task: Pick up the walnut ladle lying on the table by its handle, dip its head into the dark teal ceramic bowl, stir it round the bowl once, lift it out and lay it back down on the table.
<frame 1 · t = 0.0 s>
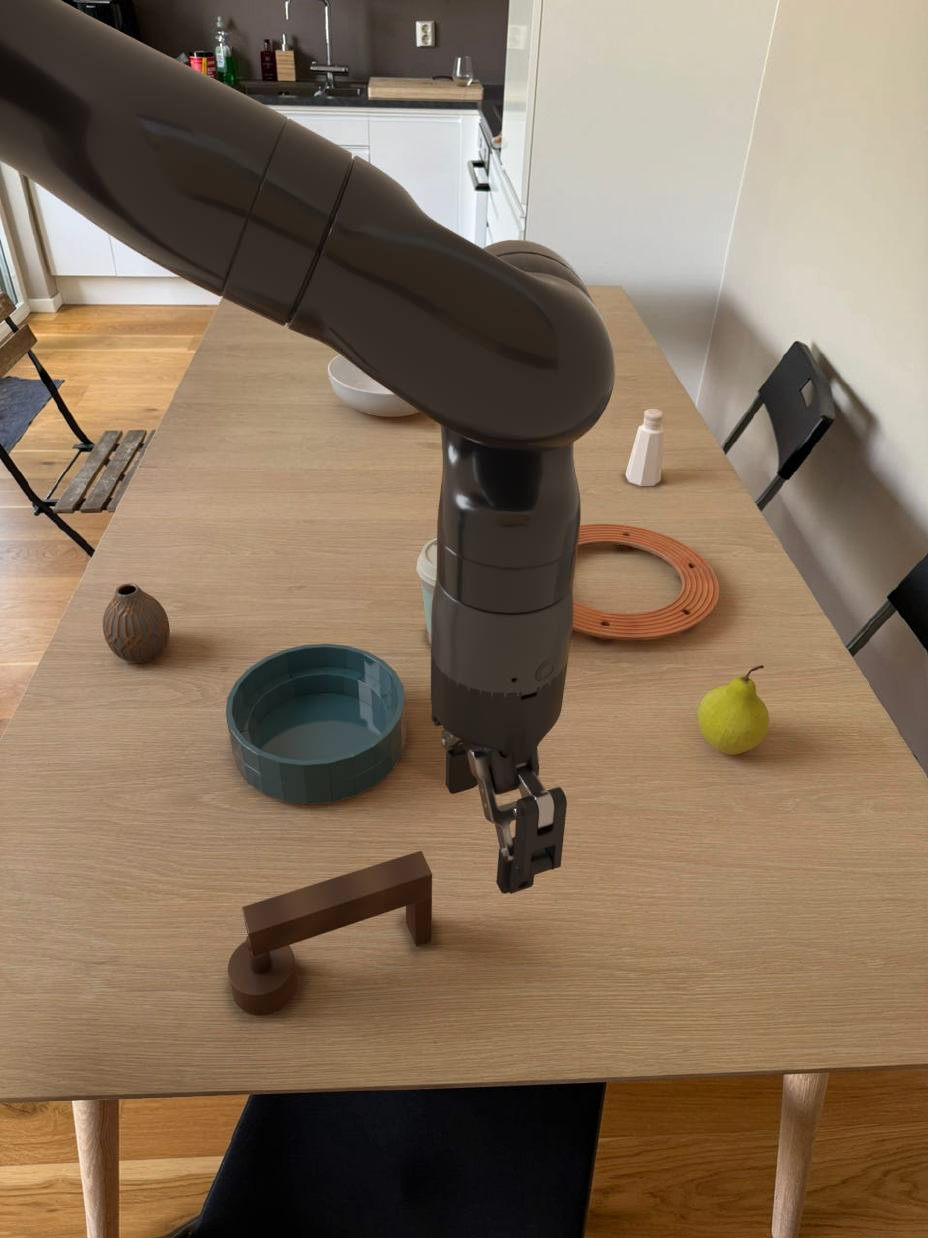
hand: (486, 834, 58), 19 cm above the table, tool pointing down, fingers open, 8 cm apart
vase: (143, 653, 101), on the table
mixing bowl: (320, 742, 91), on the table
ring: (614, 590, 114), on the table
serving bowl: (390, 405, 156), on the table
ladle: (363, 951, 72), on the table
coffee cup: (453, 639, 105), on the table
fruit: (725, 744, 92), on the table
pepper shaker: (642, 479, 137), on the table
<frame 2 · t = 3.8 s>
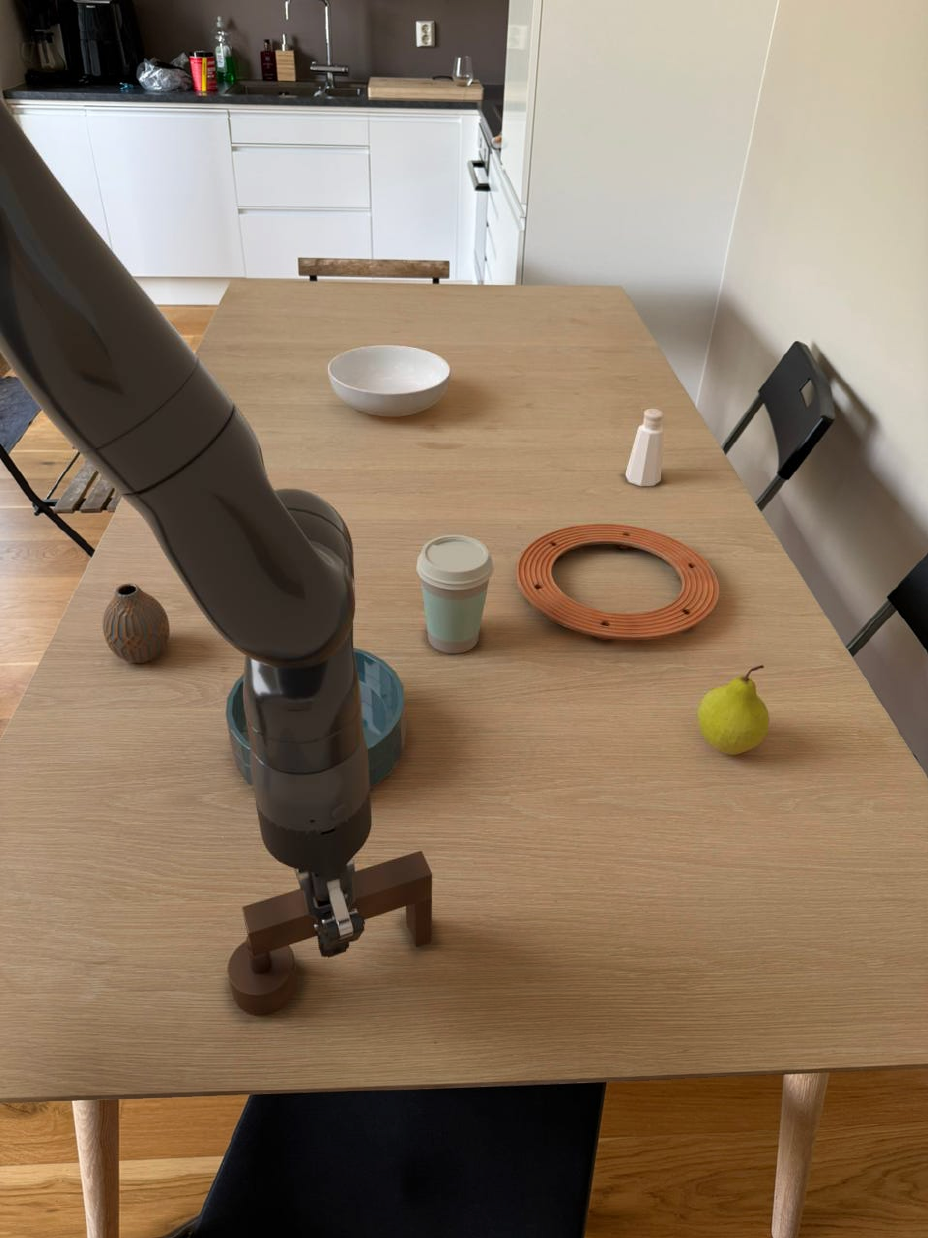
hand: (329, 933, 69), 4 cm above the table, tool pointing down, fingers closed on ladle, 2 cm apart
ladle: (363, 951, 72), on the table, touching gripper
everything else where it was.
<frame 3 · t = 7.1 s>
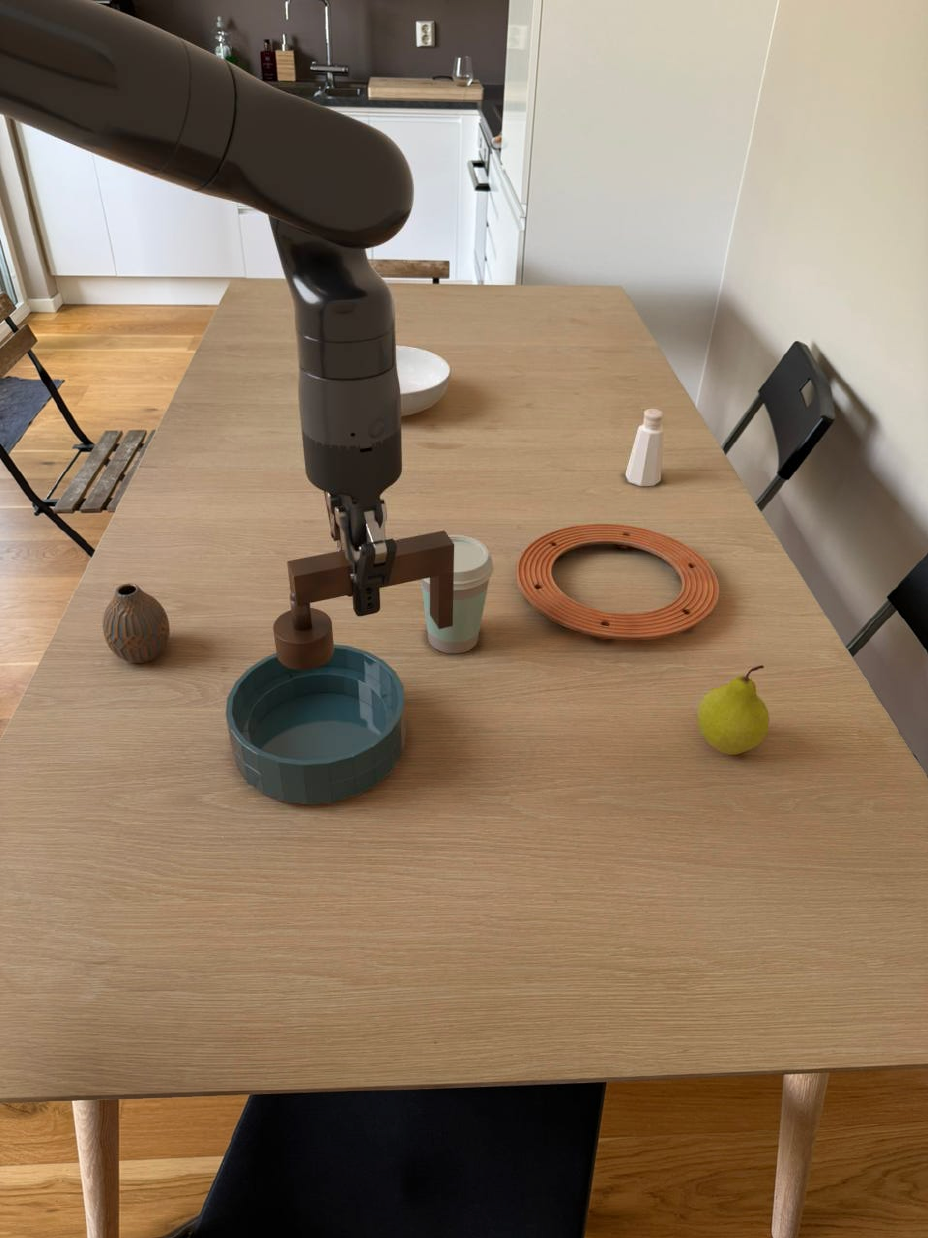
hand: (361, 602, 78), 19 cm above the table, tool pointing down, fingers closed on ladle, 2 cm apart
ladle: (391, 631, 81), point 15 cm above the table, touching gripper
everything else where it was.
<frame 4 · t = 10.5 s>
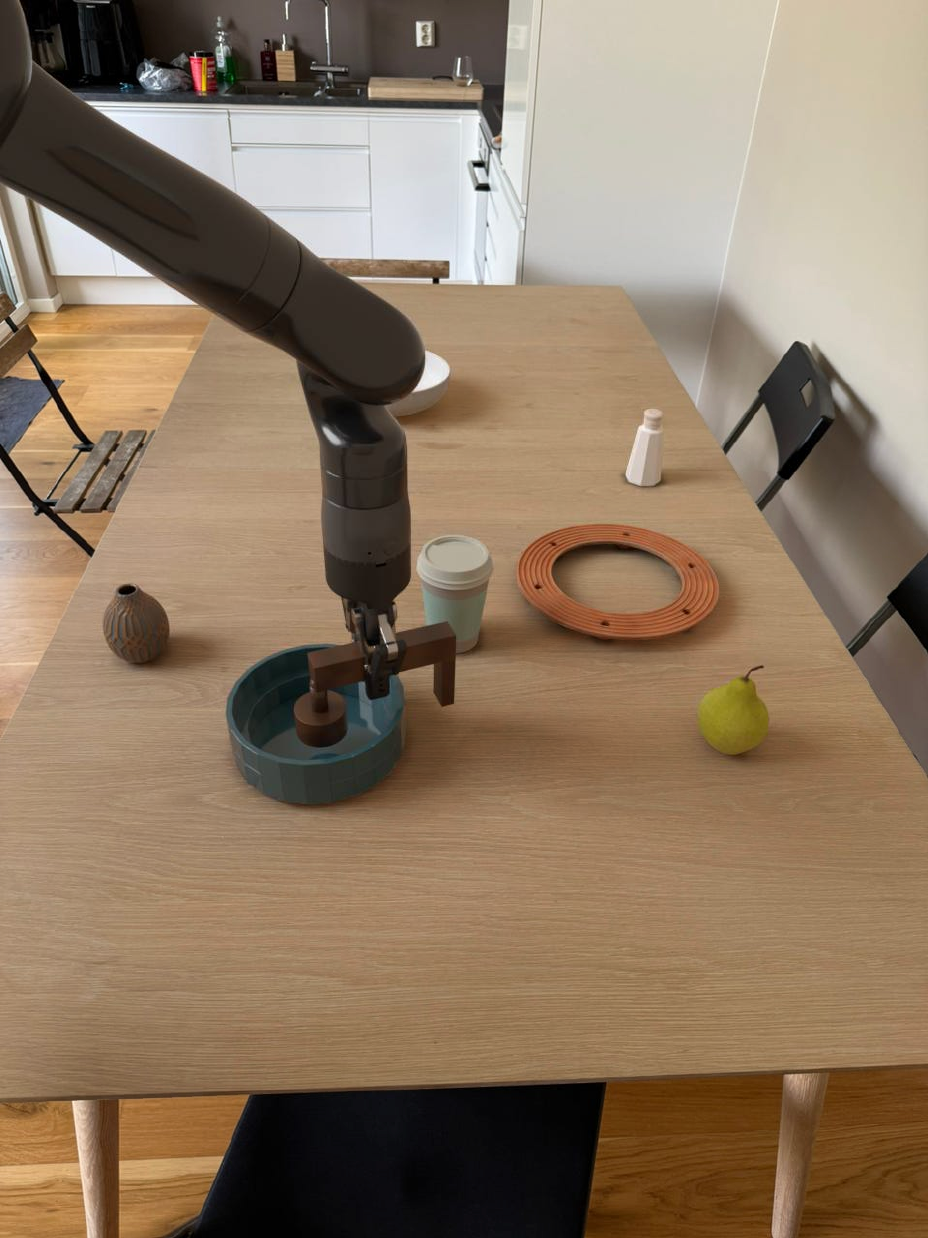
hand: (373, 685, 86), 8 cm above the table, tool pointing down, fingers closed on ladle, 2 cm apart
ladle: (399, 709, 90), point 4 cm above the table, touching gripper
everything else where it was.
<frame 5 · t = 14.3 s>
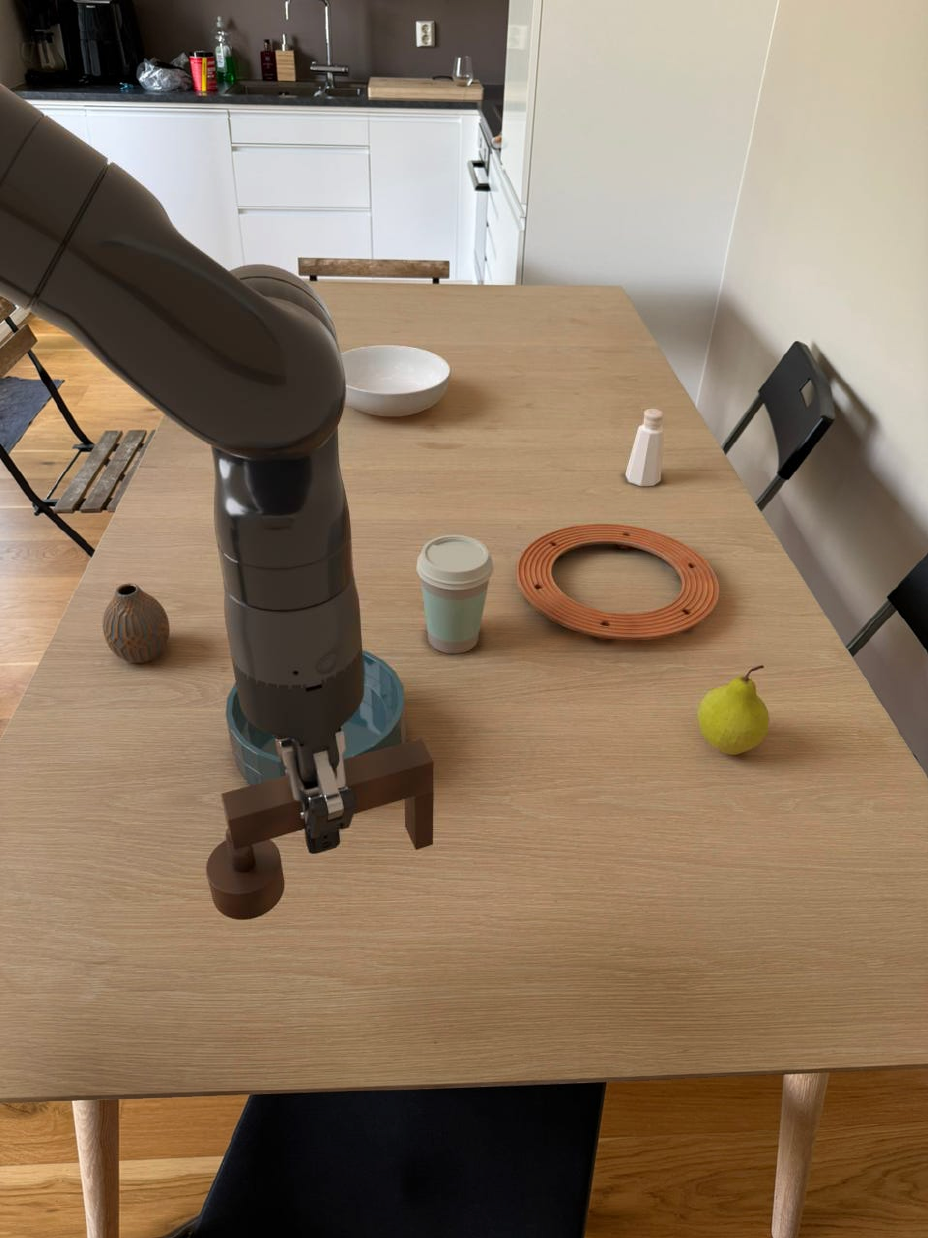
hand: (317, 830, 62), 16 cm above the table, tool pointing down, fingers closed on ladle, 2 cm apart
ladle: (357, 854, 65), point 12 cm above the table, touching gripper
everything else where it was.
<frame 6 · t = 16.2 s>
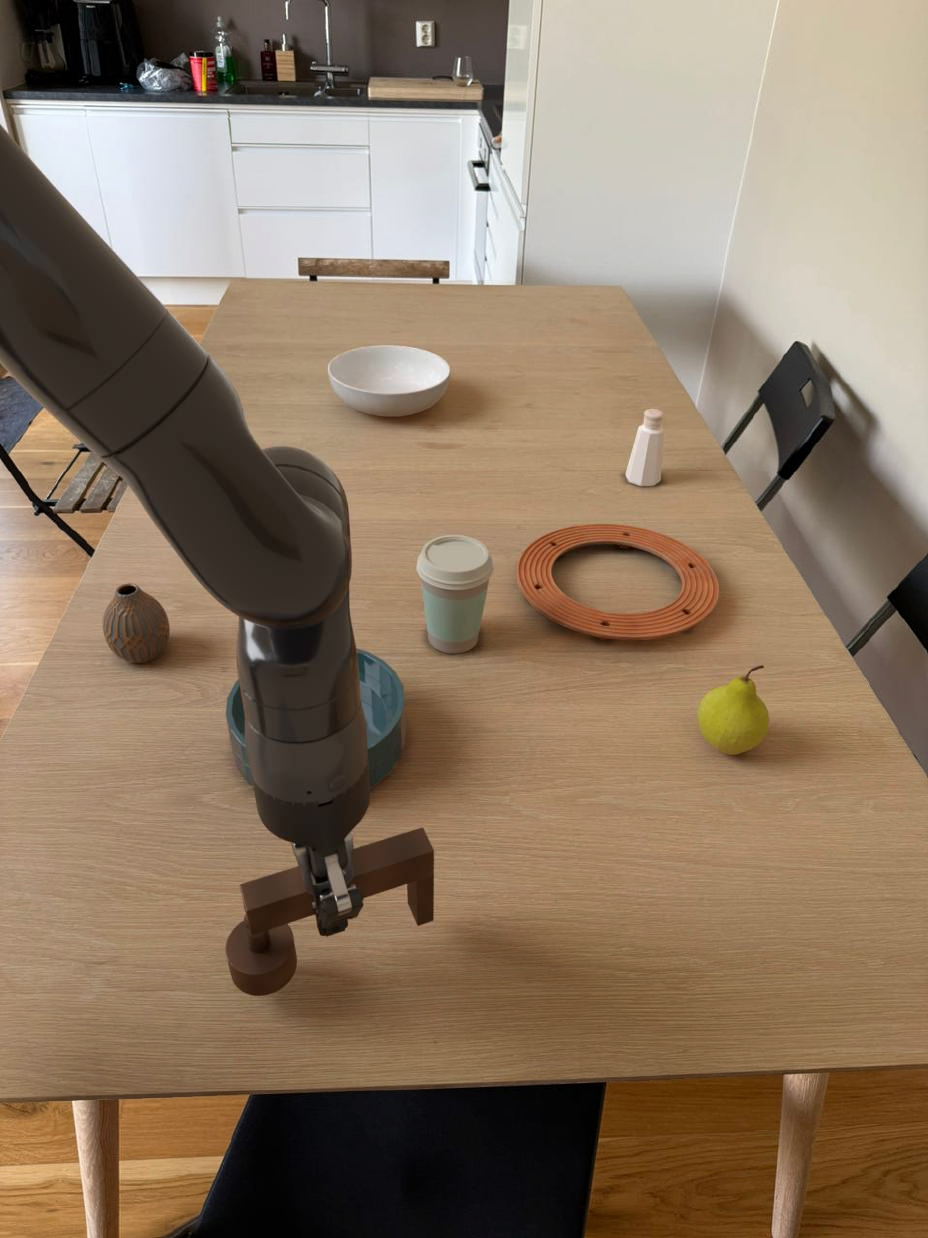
hand: (327, 912, 67), 7 cm above the table, tool pointing down, fingers closed on ladle, 2 cm apart
ladle: (363, 931, 71), point 3 cm above the table, touching gripper
everything else where it was.
when the fingers open (4 cm above the table, at t = 17.2 s): ladle stays where it is, on the table.
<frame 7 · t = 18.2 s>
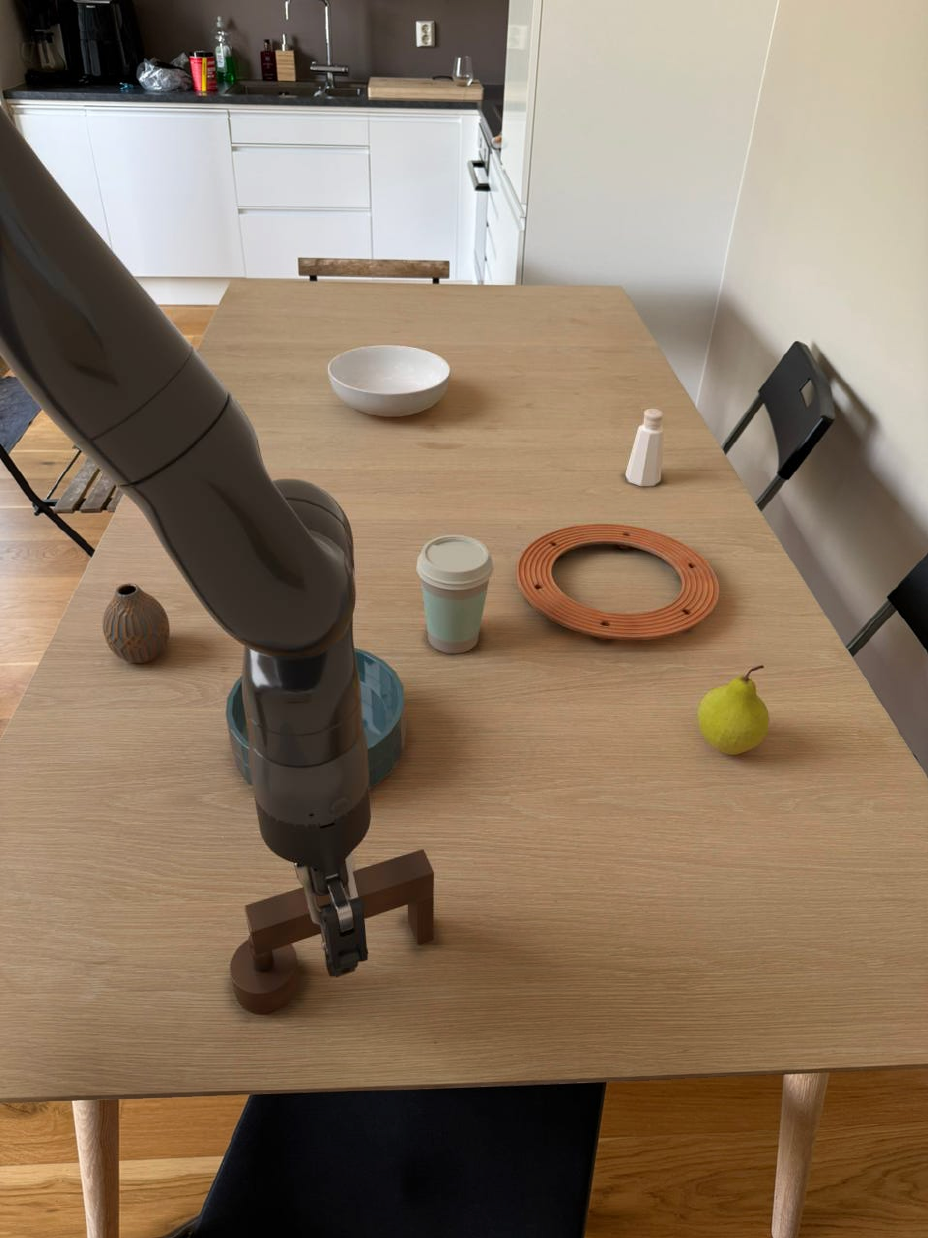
hand: (326, 921, 68), 6 cm above the table, tool pointing down, fingers open, 8 cm apart
ladle: (365, 949, 72), on the table
everything else where it was.
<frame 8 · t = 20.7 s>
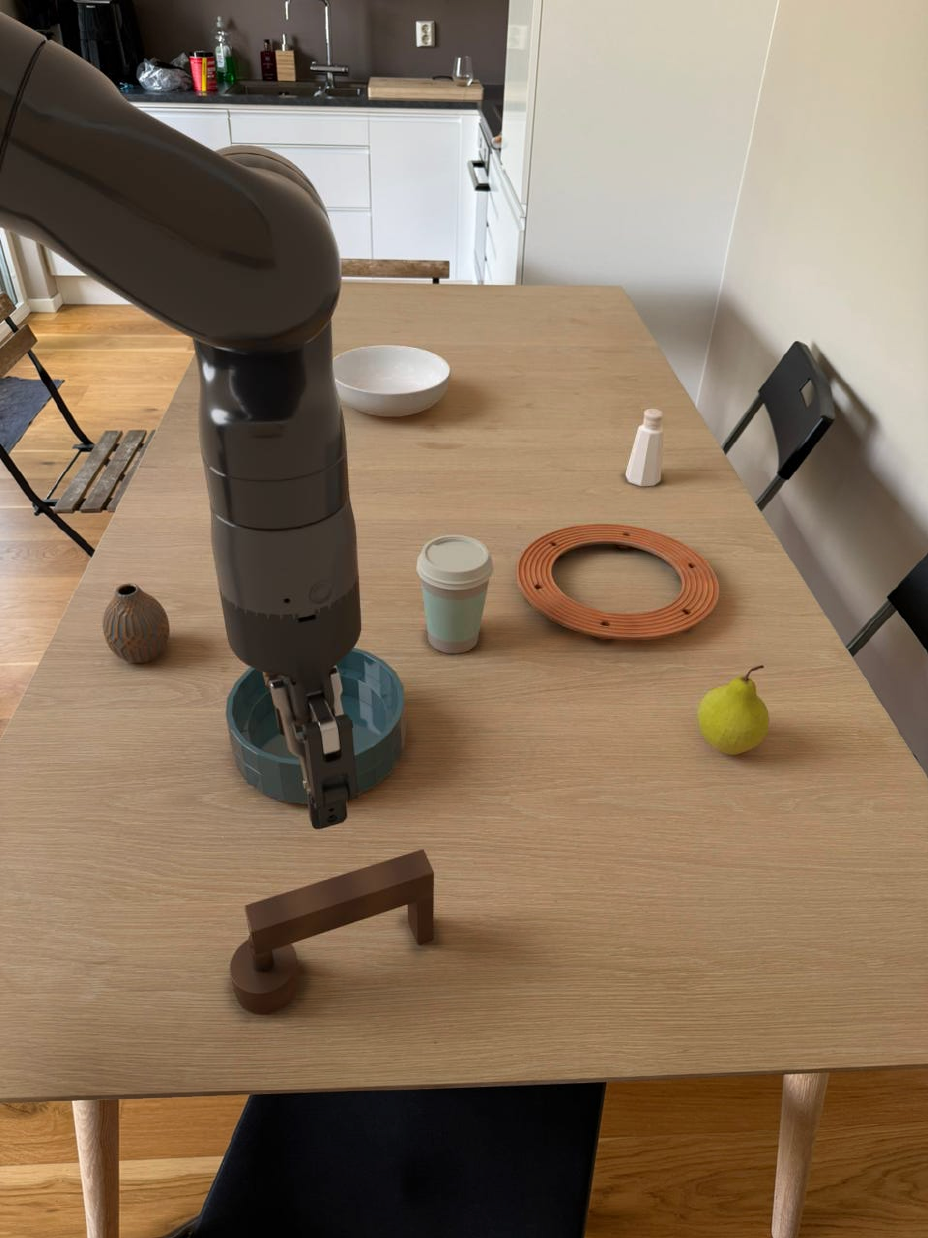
hand: (311, 773, 58), 22 cm above the table, tool pointing down, fingers open, 8 cm apart
nothing on the table moved.
at the end: ladle inside the target area (0.2 cm from its centre), on the table; the gripper is holding nothing; ladle touching table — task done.
